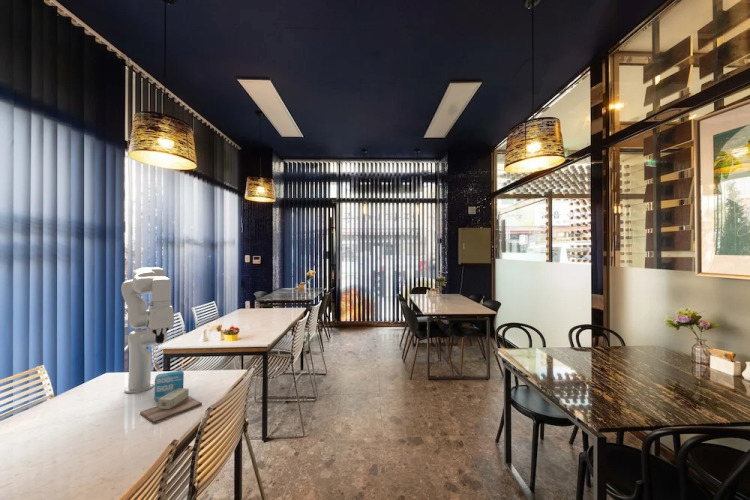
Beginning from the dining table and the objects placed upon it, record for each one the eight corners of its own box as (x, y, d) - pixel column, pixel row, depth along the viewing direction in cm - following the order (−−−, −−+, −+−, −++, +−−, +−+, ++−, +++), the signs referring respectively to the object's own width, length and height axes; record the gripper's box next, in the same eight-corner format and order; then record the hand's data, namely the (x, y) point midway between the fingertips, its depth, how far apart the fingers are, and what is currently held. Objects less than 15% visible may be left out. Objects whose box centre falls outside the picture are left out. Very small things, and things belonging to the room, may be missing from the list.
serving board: (140, 414, 136) (140, 411, 136) (187, 397, 153) (187, 395, 153) (153, 423, 129) (153, 421, 129) (201, 405, 145) (201, 402, 145)
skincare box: (169, 409, 139) (189, 397, 151) (170, 399, 139) (189, 388, 151) (157, 408, 140) (177, 396, 152) (157, 398, 140) (177, 387, 152)
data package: (154, 402, 148) (154, 377, 149) (154, 398, 152) (155, 374, 152) (183, 396, 155) (183, 372, 155) (183, 393, 158) (183, 370, 159)
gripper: (145, 307, 136) (144, 348, 136) (181, 303, 148) (180, 340, 148) (138, 305, 140) (137, 345, 140) (174, 301, 153) (173, 338, 152)
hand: (159, 342), depth 144 cm, fingers closed
